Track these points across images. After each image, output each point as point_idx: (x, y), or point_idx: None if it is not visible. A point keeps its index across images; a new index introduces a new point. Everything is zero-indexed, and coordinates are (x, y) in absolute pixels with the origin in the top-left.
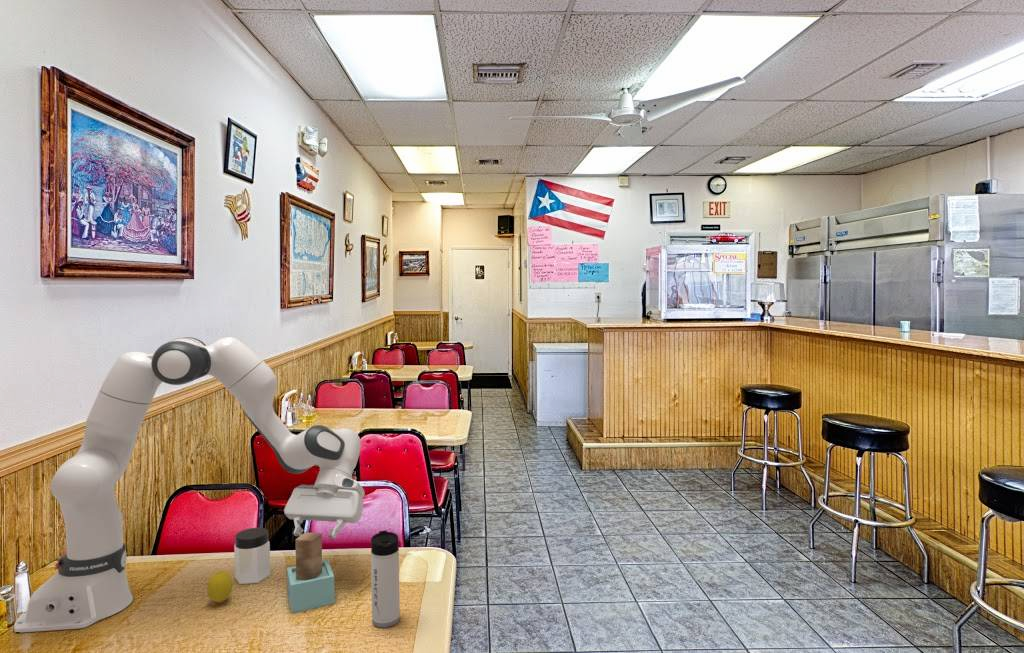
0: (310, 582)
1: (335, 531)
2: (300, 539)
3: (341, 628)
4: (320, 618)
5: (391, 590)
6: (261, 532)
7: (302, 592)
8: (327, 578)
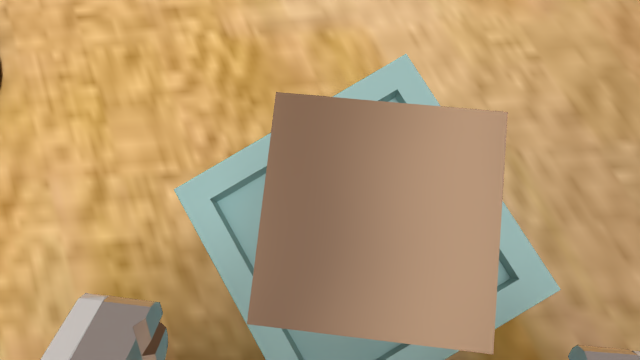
0: None
1: (55, 353)
2: (445, 122)
3: (120, 10)
4: (238, 75)
5: None
6: None
7: None
8: (212, 167)
